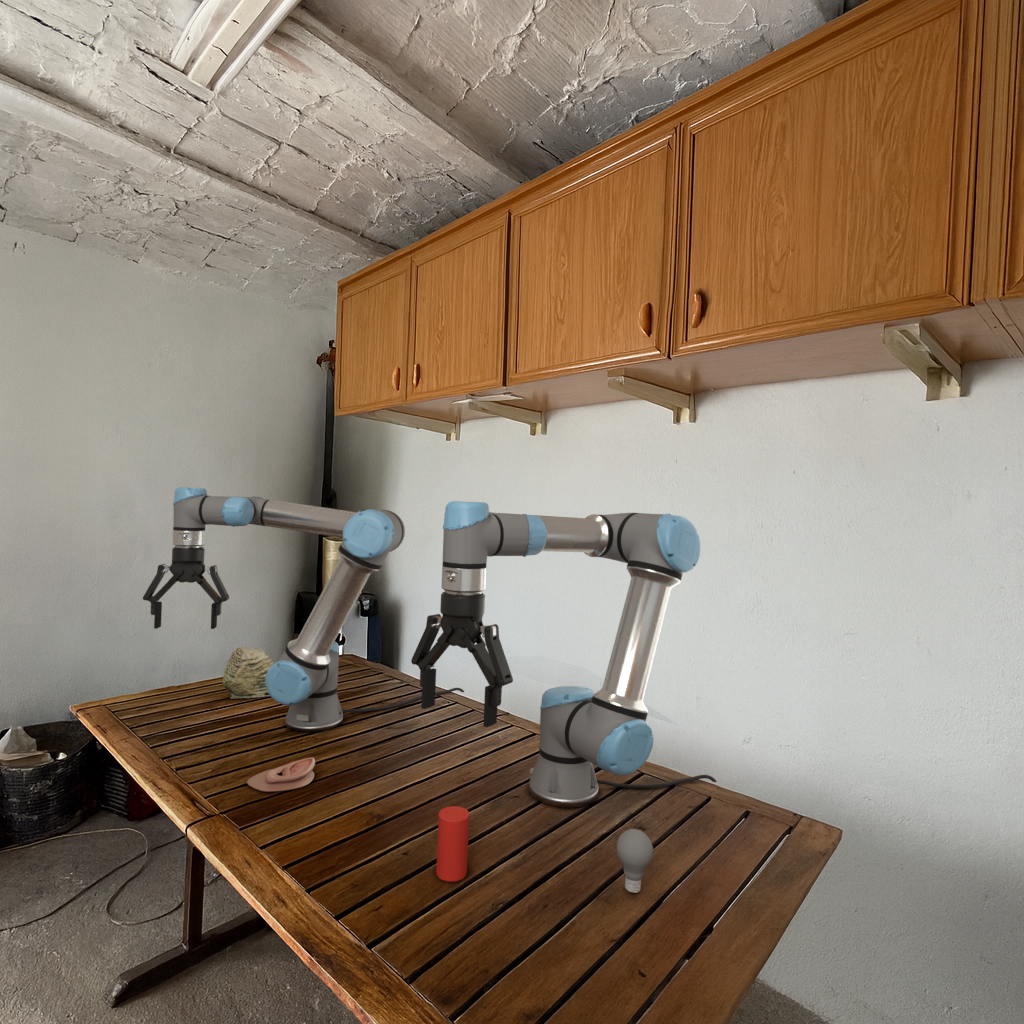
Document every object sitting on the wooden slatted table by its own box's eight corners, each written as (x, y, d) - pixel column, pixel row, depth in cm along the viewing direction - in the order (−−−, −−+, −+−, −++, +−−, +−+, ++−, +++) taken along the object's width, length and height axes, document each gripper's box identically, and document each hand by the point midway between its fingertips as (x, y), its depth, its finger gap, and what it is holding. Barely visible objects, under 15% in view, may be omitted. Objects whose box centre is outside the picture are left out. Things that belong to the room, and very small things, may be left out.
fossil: (218, 695, 195) (220, 647, 195) (278, 685, 208) (279, 640, 207) (228, 703, 189) (230, 653, 188) (289, 692, 201) (290, 645, 201)
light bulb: (610, 879, 108) (613, 822, 108) (644, 879, 109) (647, 822, 109) (619, 902, 102) (622, 840, 102) (655, 901, 103) (658, 840, 103)
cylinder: (471, 878, 107) (473, 818, 107) (441, 884, 105) (444, 823, 105) (461, 861, 112) (463, 804, 112) (432, 867, 110) (434, 808, 110)
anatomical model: (238, 769, 136) (269, 749, 147) (238, 787, 136) (269, 766, 147) (295, 777, 133) (322, 756, 144) (294, 796, 133) (321, 773, 144)
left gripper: (130, 546, 159) (127, 630, 159) (236, 549, 163) (233, 630, 164) (142, 543, 166) (139, 624, 166) (242, 546, 171) (240, 625, 171)
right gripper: (394, 585, 112) (389, 704, 112) (511, 603, 98) (505, 739, 98) (423, 581, 118) (418, 695, 118) (537, 598, 104) (531, 726, 104)
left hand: (185, 627), depth 165 cm, fingers open, 13 cm apart
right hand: (457, 715), depth 108 cm, fingers open, 13 cm apart
